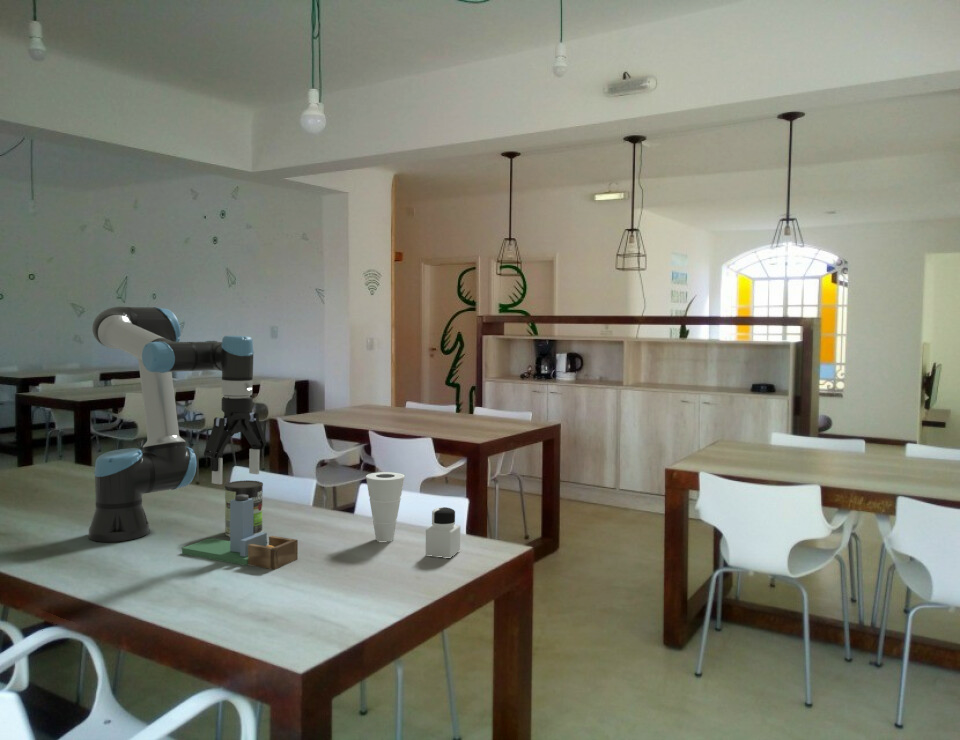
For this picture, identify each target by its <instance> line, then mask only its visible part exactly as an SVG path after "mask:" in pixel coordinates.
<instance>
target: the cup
mask: <svg viewBox="0 0 960 740" xmlns="http://www.w3.org/2000/svg"><path fill="white" fill-rule="evenodd" d="M405 476H406V475H405V474H403V473H400V472H393V471H392V472H391V471H380V472H372V473H368V474H367V475H365V478H366V485H367V491H368V497H369V503H370V504H369V505H370V510H371V511H370V512H371V517H372V519H373V520H372V523H373V528H374V531H373V532H374V535H375V541H376V540H377V541H376V542H378V541H391V540H393V541H394V538H395V534H396V533H395V532H396V527H397V520H398V515H399V510H400V505H401V499H402V498H401V497H402V493H403V489H404V488H403V487H404V483H405V482H404V481H405ZM391 542H392V541H391Z"/></svg>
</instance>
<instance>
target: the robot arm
mask: <svg viewBox="0 0 960 740" xmlns="http://www.w3.org/2000/svg"><path fill="white" fill-rule="evenodd" d="M92 334H93V337H94V339H95V340H96V341H97V342H98V343H99V344H100V345H102V346H104V347H106V348H107V349H108V348H109V349H113V350H118V349H119V350H121V351H123V352H125V353H127V354H129V355H130V356H131V355H132V356H133V357H134V358H136V359H137V360H138V367H139V369H138V370H139V376H140V385H141V386H140V387H141V393H142V402H143V411H144V413H143V414H144V420H145V428H146V436H147V440H146V442H145V443H144V445H143V446H142V450H141V449H140V448H137V447H130V448H129V447H127V448H121V449H115V450H111V451H108V452H107V451H106V452H104V453H102V454H101V455H99V456H98V457H97V458H96V459H95V464H94V465H95V466H94V467H95V468H94V473H93V474H94V481H95V482H94V485H95V486H94V487H95V490H94V491H95V494H94V497H95V498H94V499H95V510H94V514H93V517H92V520H91V523H90V526H89V528H88V539H89V540H91V541H93V542H100V543H116V542H125V541H131V540H135V539H136V540H137V539H139V538H142V537H146V535H148V534H149V532H150V522H149V521H148V519H147V514H146V512H145V509H144V507H143V495H144V494H151V493H157V492H164V491H170V490H171V491H173V490H177V489H180V488H185V487H188V486H189V485H190V484H191V483H192V481H194V480H193V479H194V477H195V476H196V472H197V456H196V453H195V451H194V449H193V448H191V447H189V446H187V443H186V440H185V439H184V438H182V437H181V436H180V431H179V422H178V414H177V406H176V398H175V391H174V389H175V387H174V381H173V372H174V373H175V372H177V373H178V372H180V373H181V372H202V371H203V372H205V371H206V372H207V371H219V372H221V395H222V396H223V397H222V398H221V412H223V417H217V416H216V417H214V419H213V426H212V430H211V432H210V434H209V438H208V440H207V444H206V446H205V449H204V452H203V456H204V457H207V458H209V459H210V471H211V484H215V485H223V468H224V467H223V466H224V465H223V457H221V456H222V455H223V452H224V450H225V448H226V447H227V445H228V444H229V442H230V440H231V438H232V437H233V436H234V435H235V434H236V435H237V434H239V433H242V435H243V436H244V437H245V438H246V441H247V442H248V443H249V445H250V447H251V448H249V453H248V455H249V459H248V461H249V465H248V471H249V472H248V474H253V475H260V462H261V450H264V449H265V446H266V445H267V440H266V438H265V434H264V431H263V429H262V425H261V422H260V415H259V412H254V411H253V398H252V395H253V377H254V353H255V351H254V342H253V338H252V337H251V336H249V335H224V336H222V341H221V342H220V341H218V340H206V341H180V340H181V337H180V336H181V335H182V333H181V325H180V322H179V320H178V318H177V316H176V314H175V313H174V312H173V311H171V310H170V309H168V308H165V307H164V308H162V307H158V306H157V307H156V306H154V307H149V306H147V307H143V306H142V307H141V306H140V307H139V306H136V307H135V306H113V307H109V308H107V309H104V310H103V311H101V312H100V313H99V314H98V315H96V317H95V318H94V320H93V323H92ZM252 411H253V412H252Z"/></svg>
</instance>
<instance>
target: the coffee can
mask: <svg viewBox="0 0 960 740" xmlns="http://www.w3.org/2000/svg"><path fill="white" fill-rule="evenodd" d="M263 487H264V483H263V482H262V481H259V480H246V479H245V480H237V481H236V480H235V481H231V482H227V483H225V484H224V488H225V489H224V491H225V492H224V493H225V495H224V499H225V502H224V503H225V504H224V505H225V506H224V507H225V510H224V511H225V512H224V513H225V515H224V516H225V518H224V523H225V525H224V526H225V528H224V529H225V531H224V532H225V533H224V535H225V536H227V537H229V538H230V500H233V499H235V496H236V495H240V494H246V495H248V498H251V499H253V535H255V534H258V533H261V532H264V529H263Z"/></svg>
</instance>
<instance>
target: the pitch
mask: <svg viewBox="0 0 960 740" xmlns="http://www.w3.org/2000/svg"><path fill="white" fill-rule="evenodd" d="M181 554H182V555H188V556H192V557H199V558H204V559H210V560H213V561H221V562H226V563H231V564H236V565H241V566H249V565H248V556H246V557H243V556H240V553H239V552H233V551H230V540H225V539H220V538H219V539H217V538H215V537H214V538H213V537H210V538H207V539H203V540H201V541H198V542H196V543H191V544H189V545H187V546H186V545H185V546H183V547H182V548H181Z"/></svg>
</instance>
